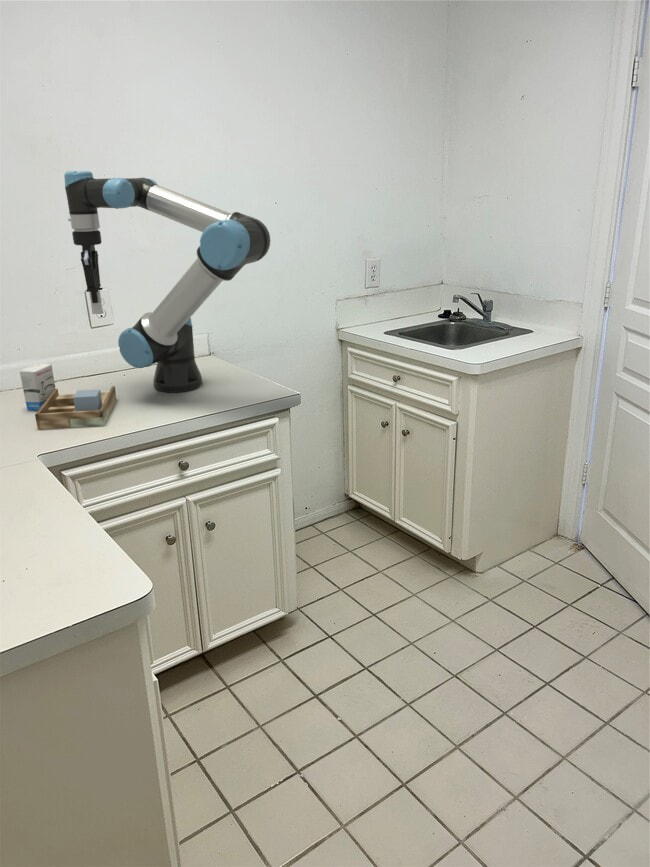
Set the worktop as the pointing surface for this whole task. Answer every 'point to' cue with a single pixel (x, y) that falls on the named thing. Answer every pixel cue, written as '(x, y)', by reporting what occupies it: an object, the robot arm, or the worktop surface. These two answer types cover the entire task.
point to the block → (87, 400)
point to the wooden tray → (73, 412)
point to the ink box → (37, 384)
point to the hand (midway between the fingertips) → (97, 313)
